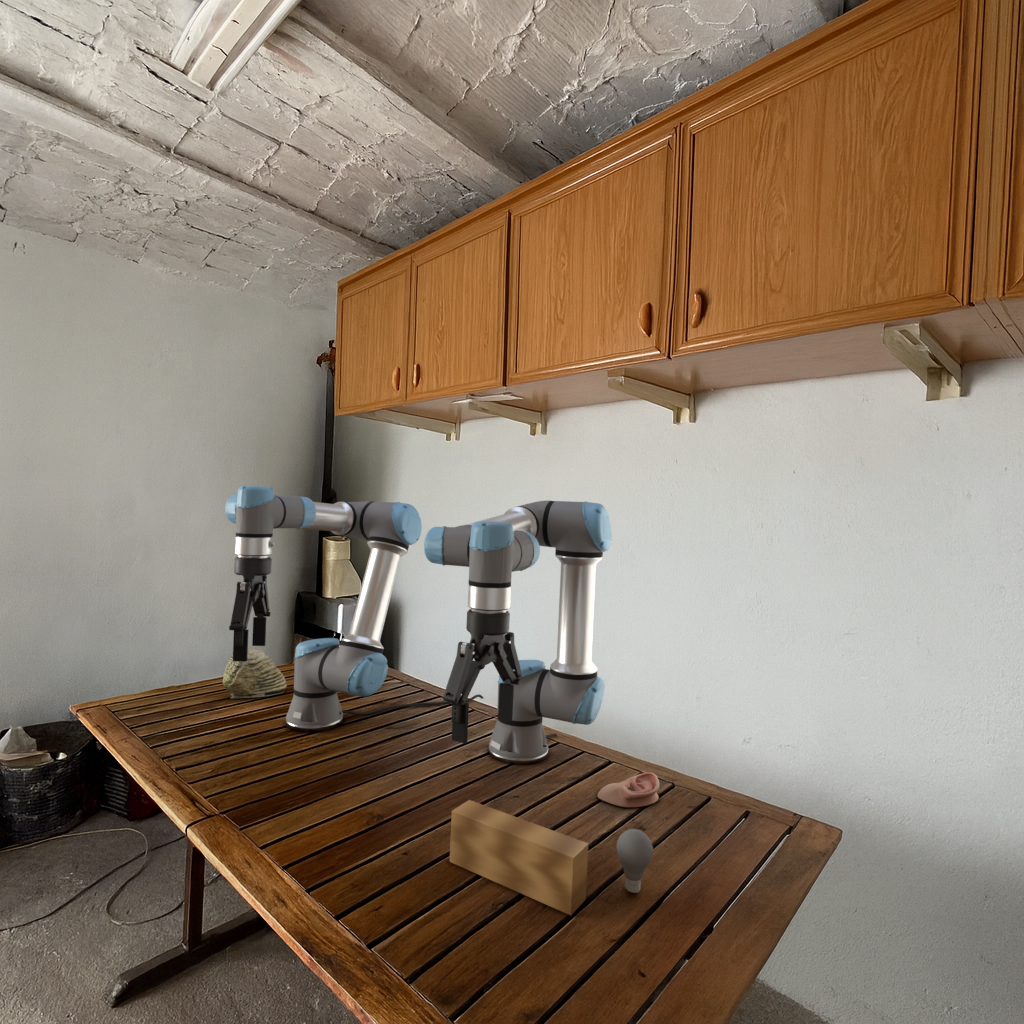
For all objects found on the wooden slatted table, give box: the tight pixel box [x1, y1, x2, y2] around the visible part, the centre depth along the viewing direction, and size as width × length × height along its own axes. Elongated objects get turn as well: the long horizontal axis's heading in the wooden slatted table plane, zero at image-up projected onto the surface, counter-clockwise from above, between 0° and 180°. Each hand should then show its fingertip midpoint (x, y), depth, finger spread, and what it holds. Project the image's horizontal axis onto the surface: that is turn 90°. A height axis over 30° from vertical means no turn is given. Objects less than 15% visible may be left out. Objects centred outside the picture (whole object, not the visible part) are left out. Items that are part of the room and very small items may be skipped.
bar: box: [449, 799, 589, 916], centre depth 107 cm, size 24×5×9 cm, turn 57°
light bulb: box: [615, 828, 654, 894], centre depth 106 cm, size 6×6×10 cm
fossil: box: [222, 647, 288, 699], centre depth 198 cm, size 9×18×15 cm, turn 132°
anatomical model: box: [596, 771, 660, 808], centre depth 140 cm, size 13×4×12 cm
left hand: (249, 653), depth 139 cm, fingers open, 13 cm apart
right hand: (483, 730), depth 111 cm, fingers open, 13 cm apart
